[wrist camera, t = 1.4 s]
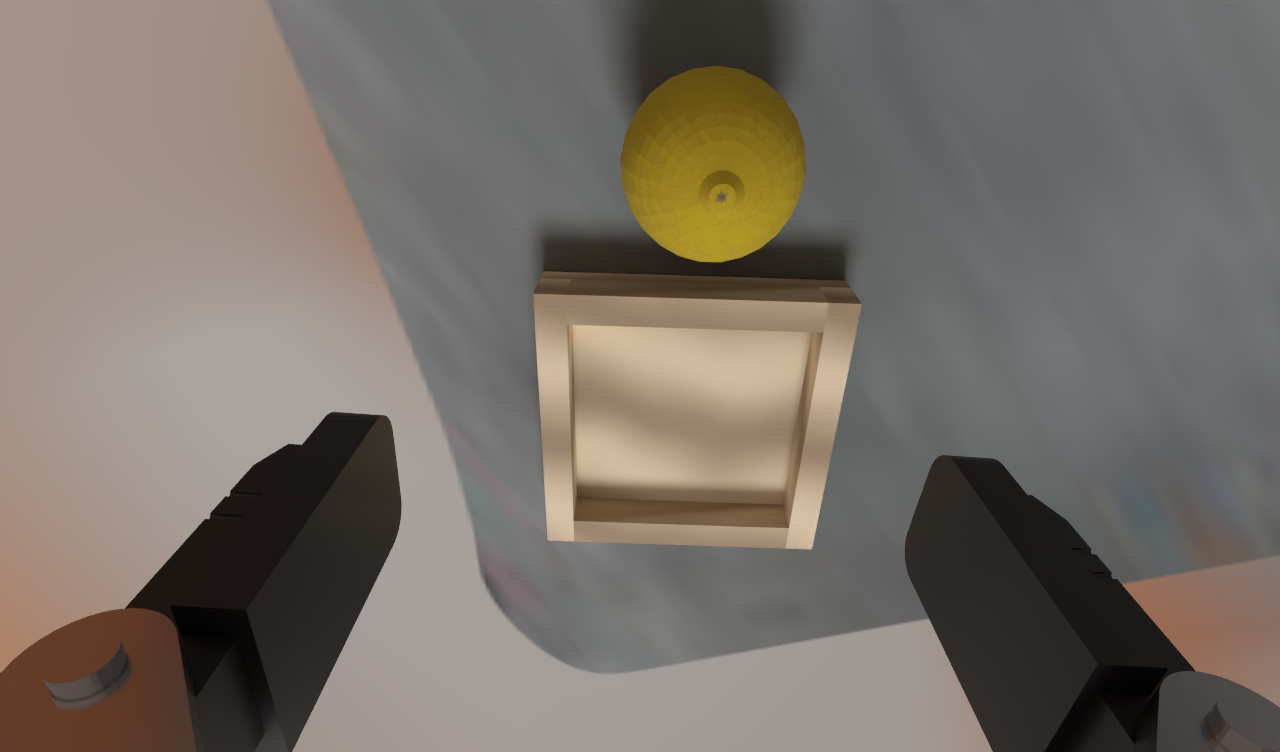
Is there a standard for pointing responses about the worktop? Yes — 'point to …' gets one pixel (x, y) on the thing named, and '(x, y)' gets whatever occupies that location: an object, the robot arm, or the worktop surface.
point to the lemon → (713, 164)
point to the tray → (689, 405)
